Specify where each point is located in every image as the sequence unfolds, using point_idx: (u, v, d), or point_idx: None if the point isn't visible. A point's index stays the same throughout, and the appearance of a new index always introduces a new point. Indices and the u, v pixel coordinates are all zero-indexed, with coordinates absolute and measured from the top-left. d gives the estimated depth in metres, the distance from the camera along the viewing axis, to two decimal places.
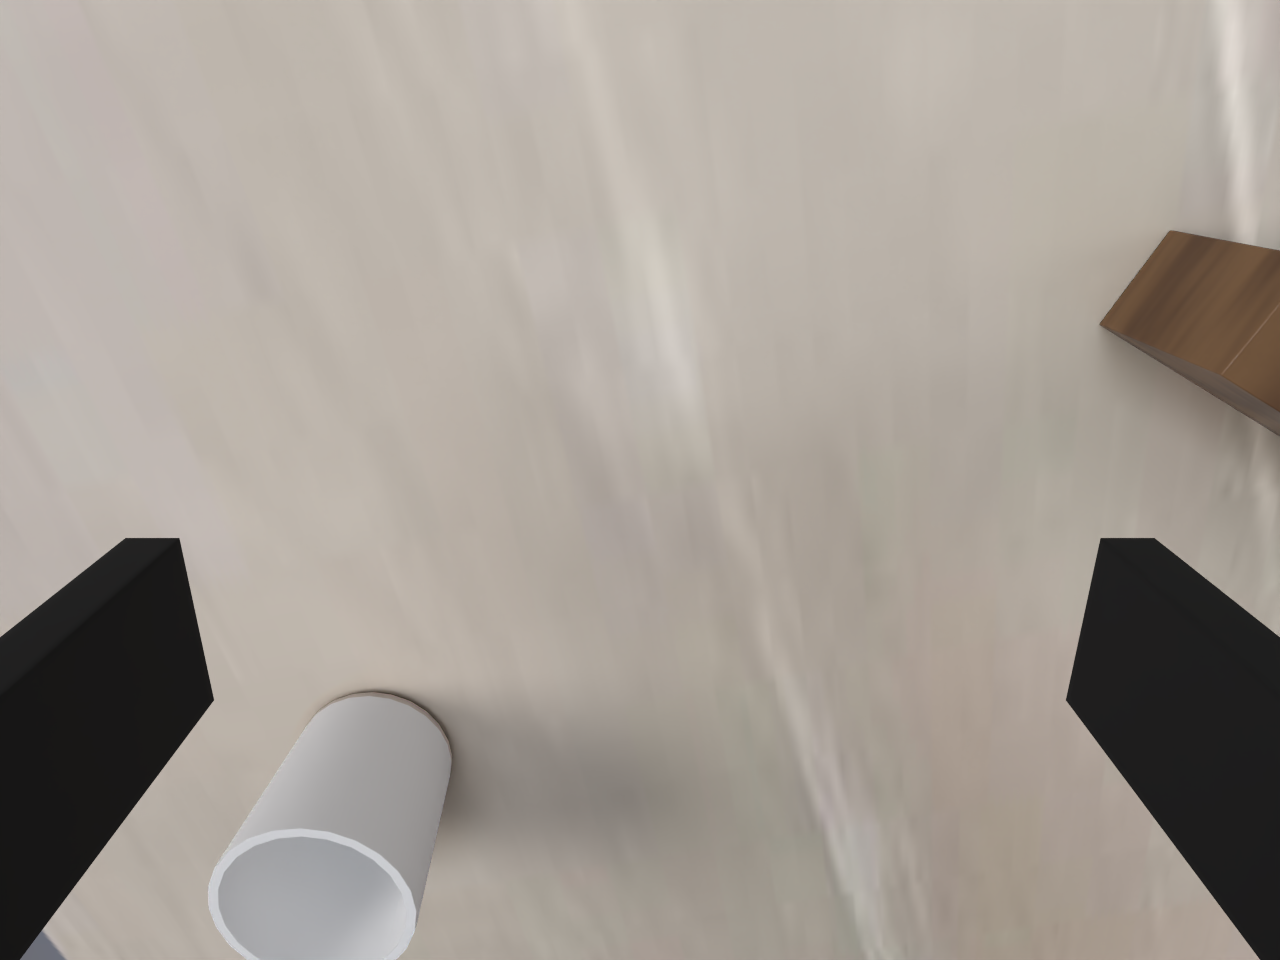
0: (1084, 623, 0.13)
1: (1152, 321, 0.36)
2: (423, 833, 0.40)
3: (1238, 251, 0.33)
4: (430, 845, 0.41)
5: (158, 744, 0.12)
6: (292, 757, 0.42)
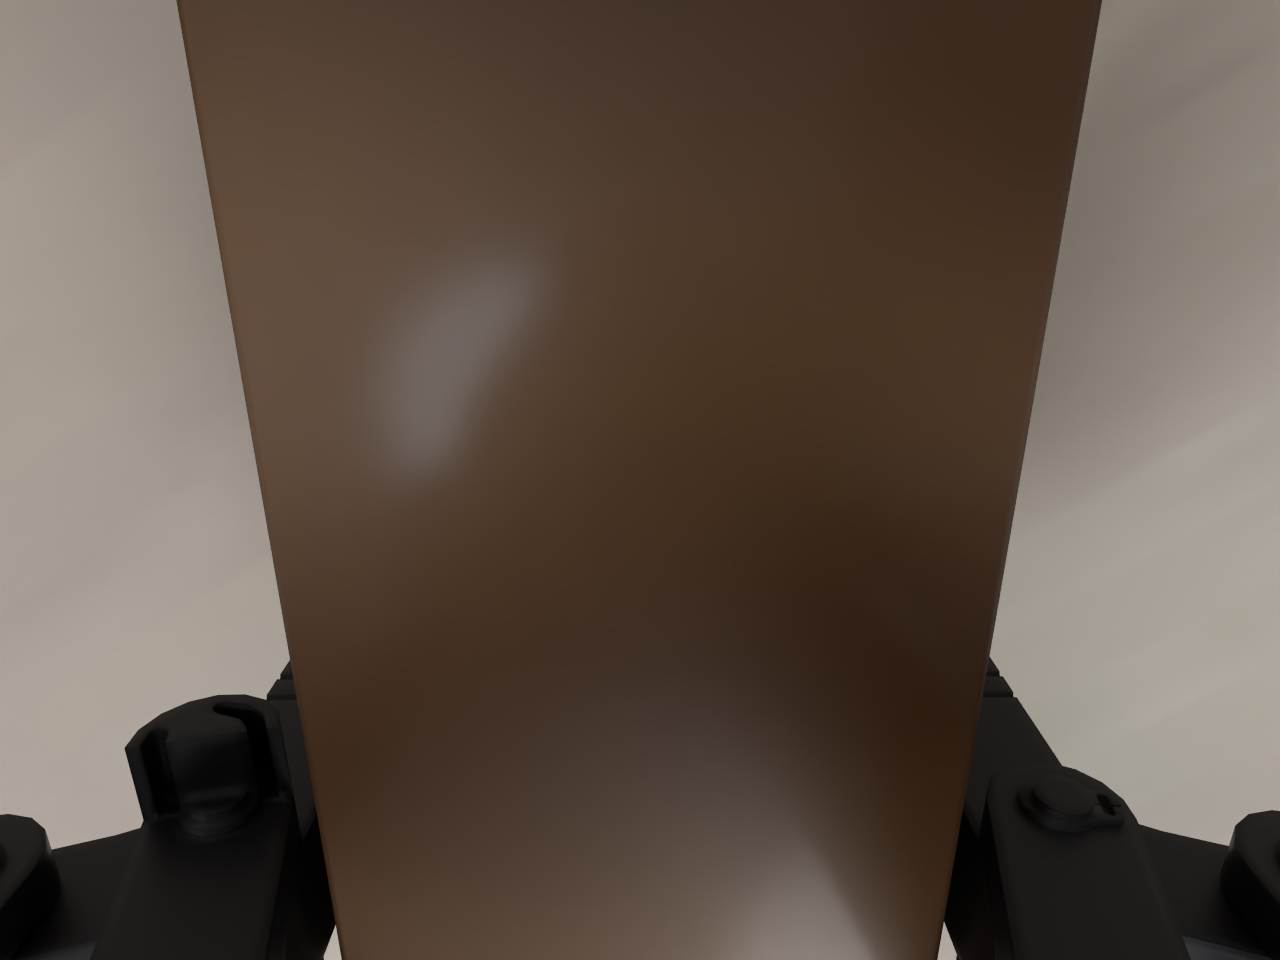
0: None
1: None
2: None
3: None
4: None
5: None
6: None
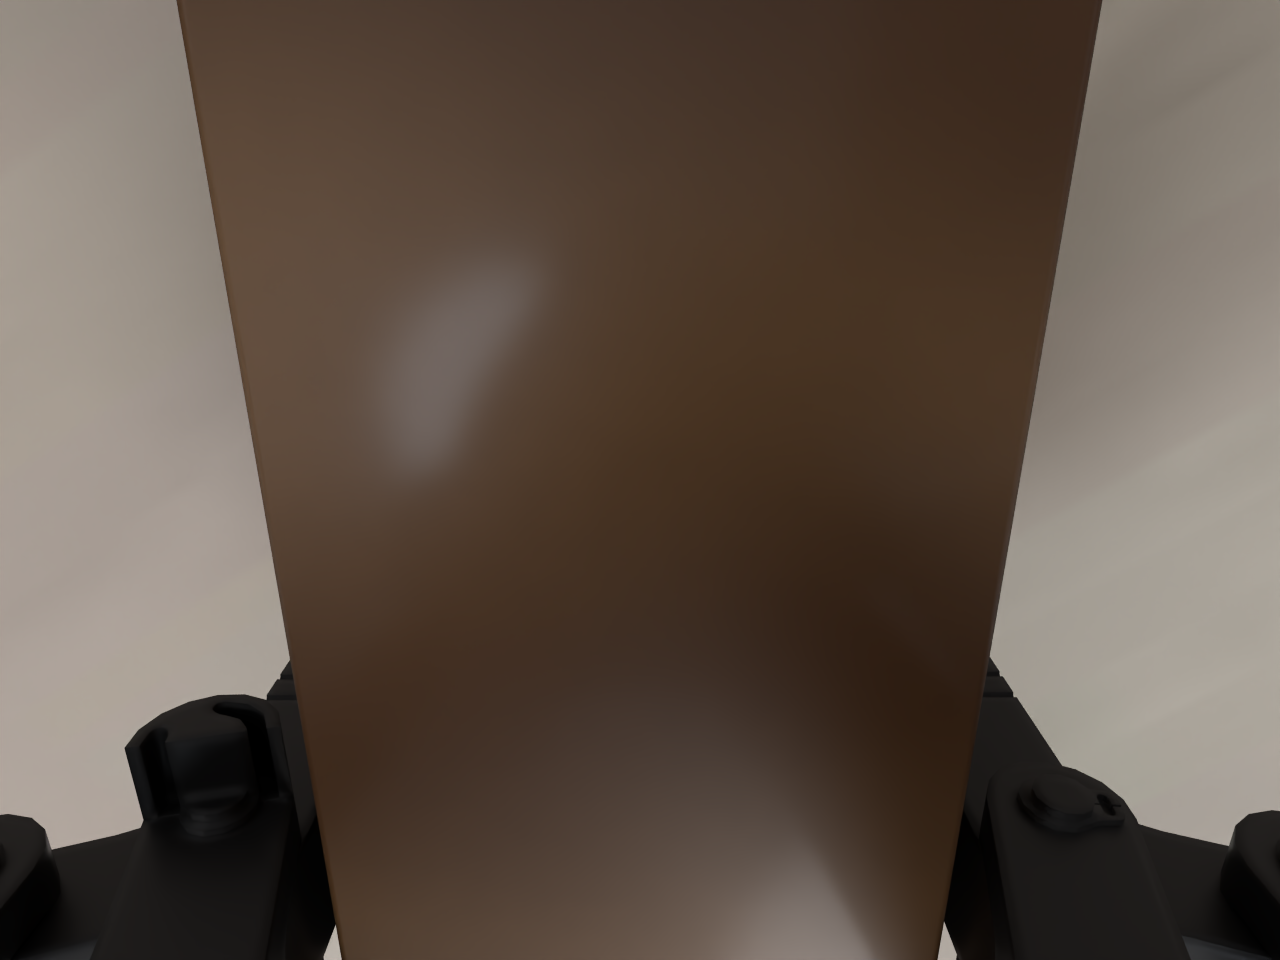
0: None
1: None
2: None
3: None
4: None
5: None
6: None
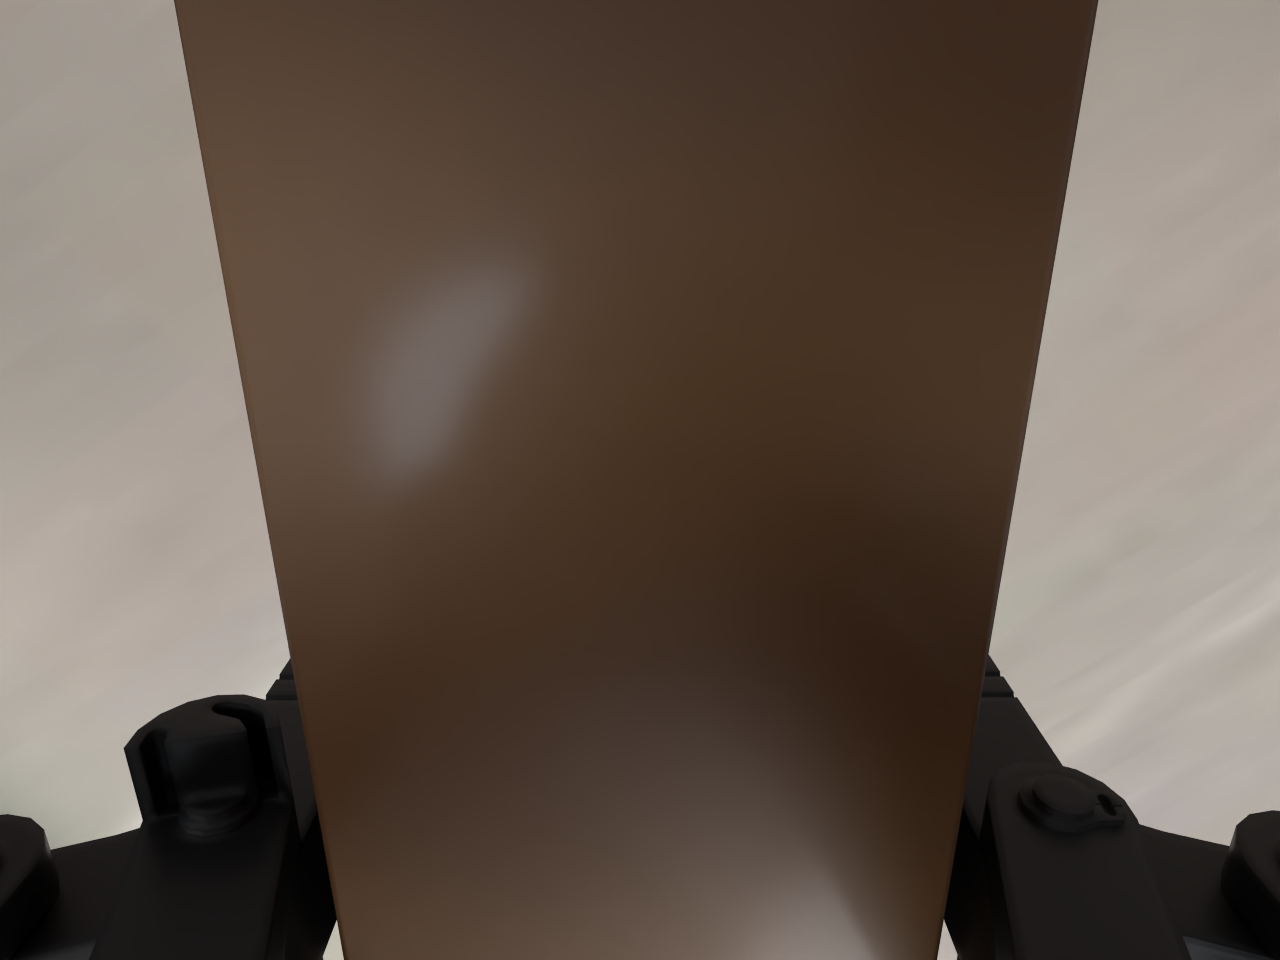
0: None
1: None
2: None
3: None
4: None
5: None
6: None
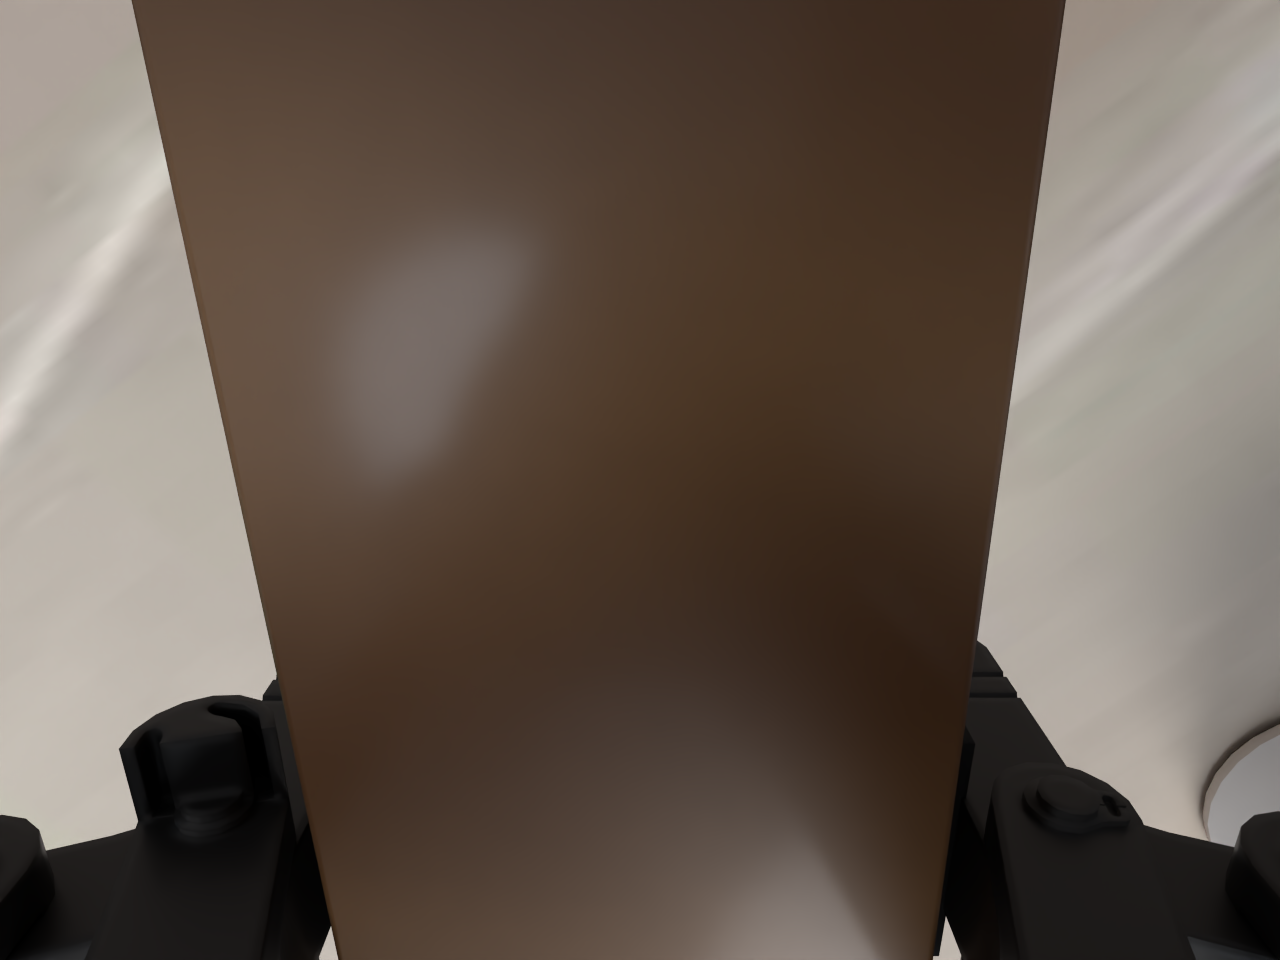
0: None
1: None
2: None
3: None
4: None
5: None
6: None
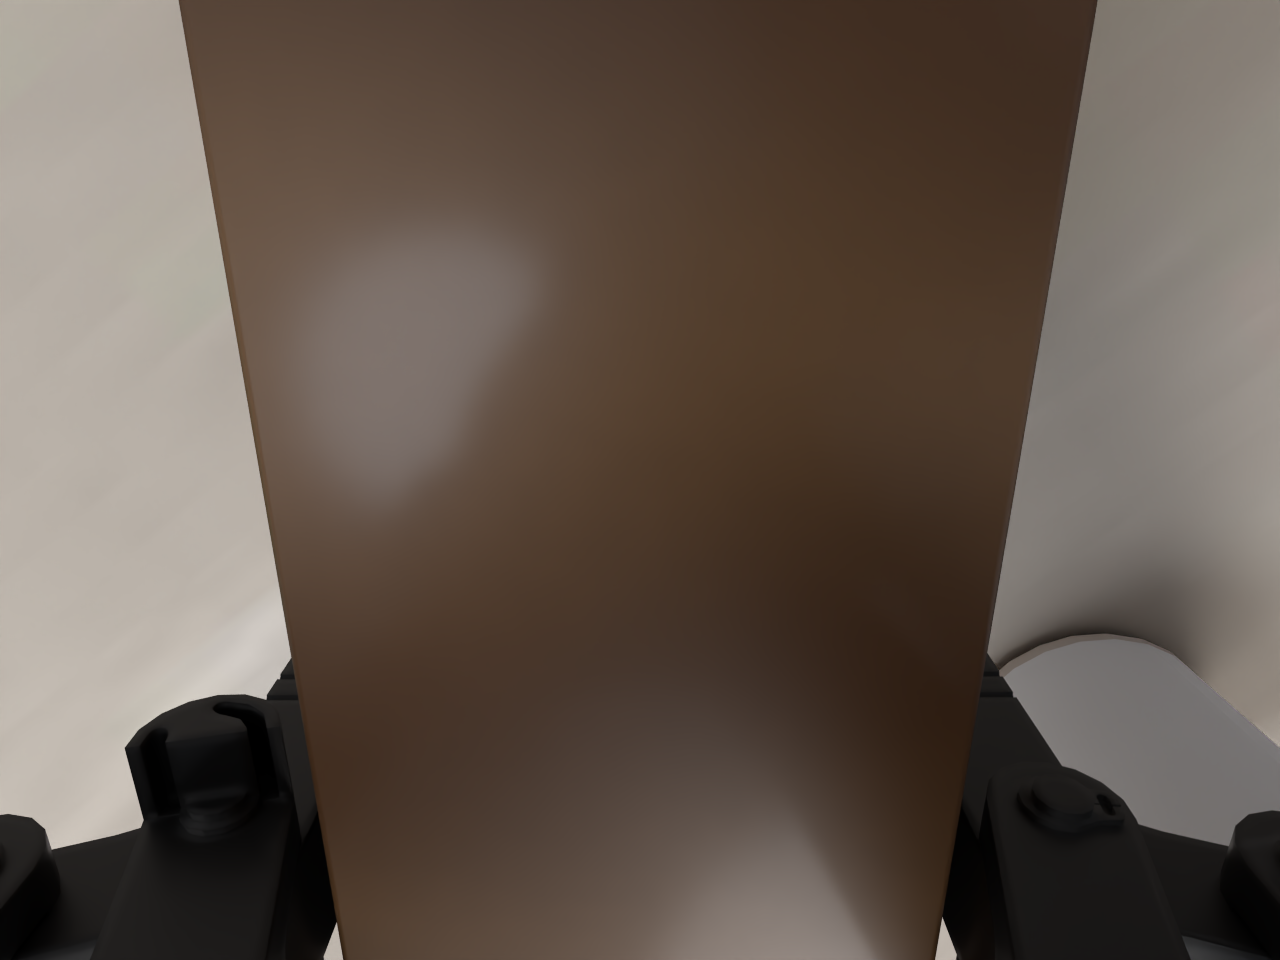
0: None
1: None
2: None
3: None
4: (1144, 788, 0.21)
5: None
6: None
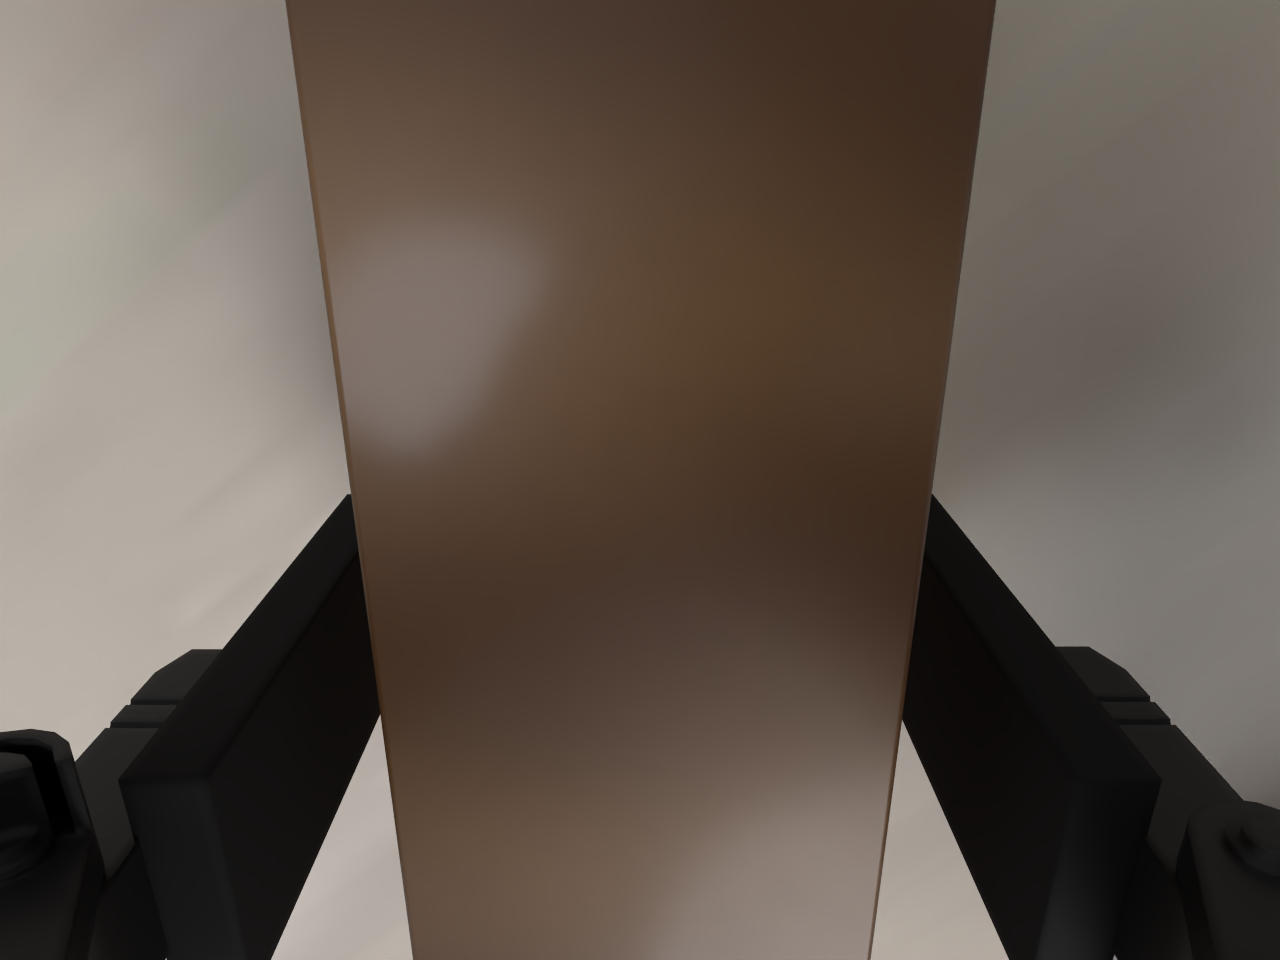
0: None
1: None
2: None
3: None
4: None
5: None
6: None
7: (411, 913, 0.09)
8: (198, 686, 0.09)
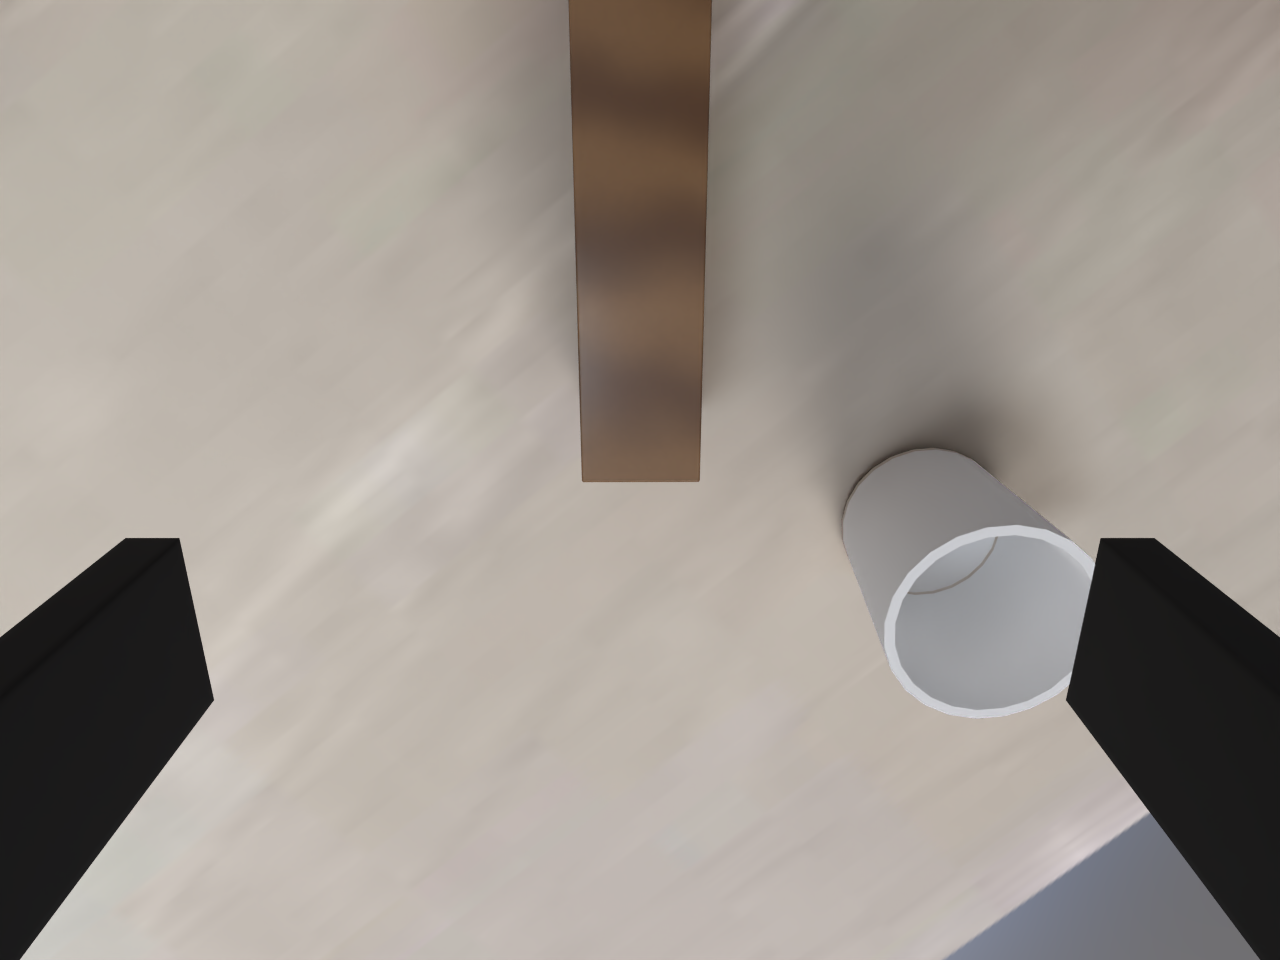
0: (1084, 623, 0.13)
1: None
2: (906, 522, 0.37)
3: None
4: (925, 505, 0.37)
5: (158, 743, 0.12)
6: None
7: (579, 337, 0.33)
8: None
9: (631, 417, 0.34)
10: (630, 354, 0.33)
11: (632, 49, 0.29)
